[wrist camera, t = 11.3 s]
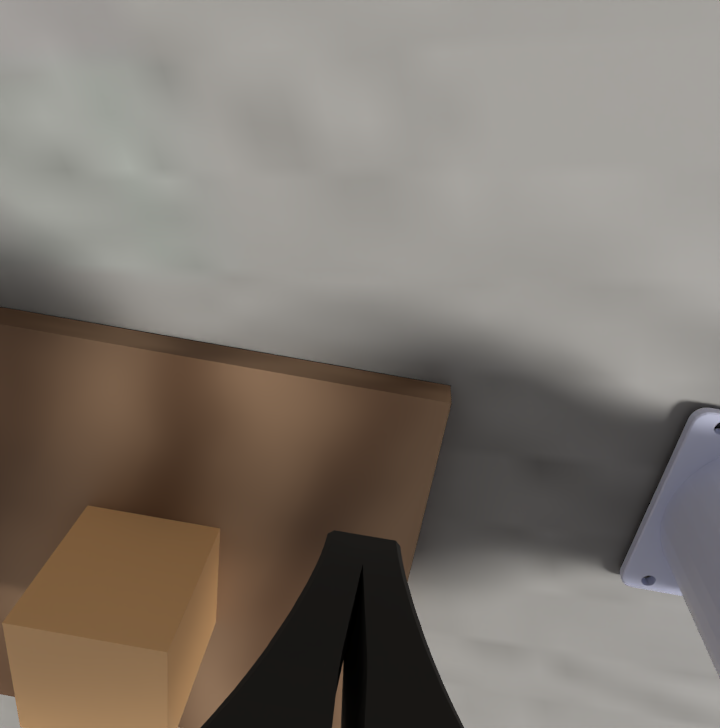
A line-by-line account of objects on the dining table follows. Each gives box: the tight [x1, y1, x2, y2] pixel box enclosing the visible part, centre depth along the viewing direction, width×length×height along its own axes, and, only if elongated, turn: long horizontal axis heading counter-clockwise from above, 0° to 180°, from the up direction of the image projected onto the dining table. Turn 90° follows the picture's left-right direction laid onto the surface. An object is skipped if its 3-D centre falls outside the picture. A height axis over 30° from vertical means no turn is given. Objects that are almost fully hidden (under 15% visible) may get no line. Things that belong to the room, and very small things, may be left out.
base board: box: [0, 307, 451, 728], centre depth 27 cm, size 20×20×1 cm
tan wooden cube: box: [2, 506, 220, 728], centre depth 24 cm, size 5×5×6 cm
